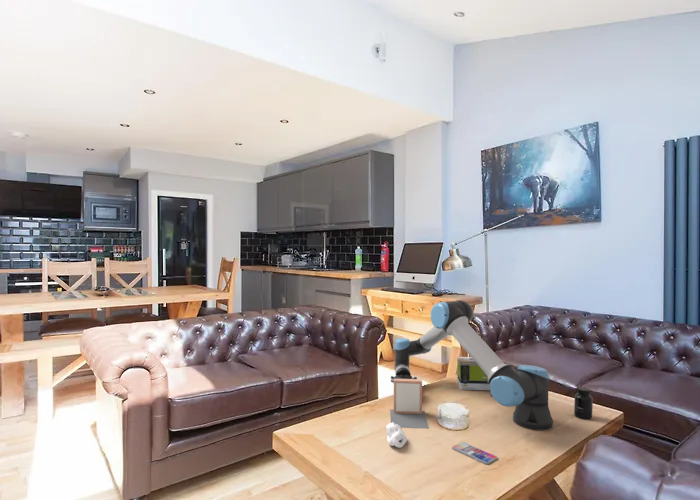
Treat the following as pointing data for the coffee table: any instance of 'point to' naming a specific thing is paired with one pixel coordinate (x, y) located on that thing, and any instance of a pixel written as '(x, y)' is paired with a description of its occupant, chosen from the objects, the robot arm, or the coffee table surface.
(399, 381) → the tile
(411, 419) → the mat
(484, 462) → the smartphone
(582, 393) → the supplement bottle
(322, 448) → the coffee table surface
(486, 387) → the tea box
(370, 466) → the coffee table surface
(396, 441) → the white lumpy piece
